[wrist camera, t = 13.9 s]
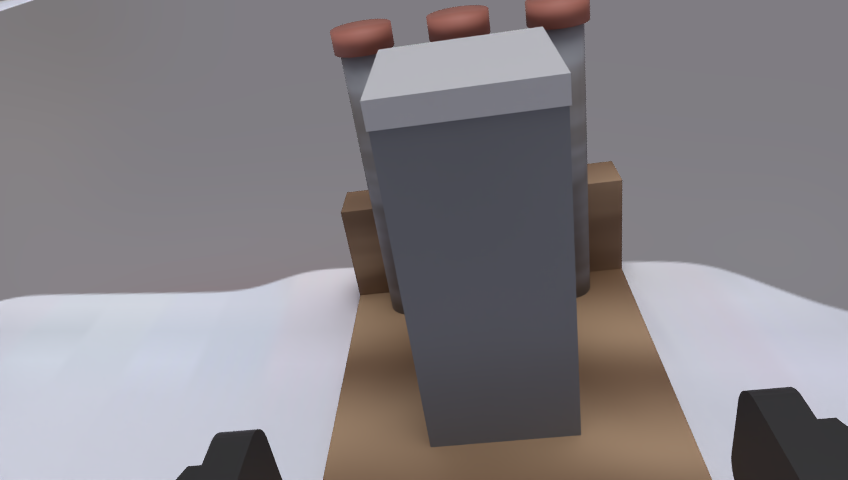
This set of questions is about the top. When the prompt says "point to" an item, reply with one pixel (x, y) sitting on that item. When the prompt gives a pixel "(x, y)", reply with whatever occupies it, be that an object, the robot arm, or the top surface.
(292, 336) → the top surface
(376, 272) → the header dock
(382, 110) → the plug block
